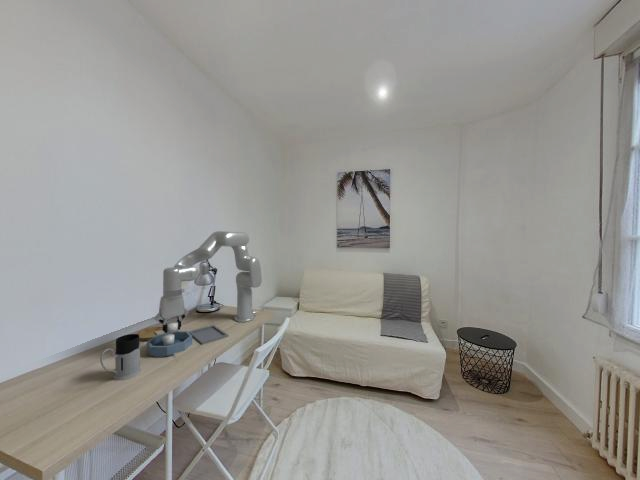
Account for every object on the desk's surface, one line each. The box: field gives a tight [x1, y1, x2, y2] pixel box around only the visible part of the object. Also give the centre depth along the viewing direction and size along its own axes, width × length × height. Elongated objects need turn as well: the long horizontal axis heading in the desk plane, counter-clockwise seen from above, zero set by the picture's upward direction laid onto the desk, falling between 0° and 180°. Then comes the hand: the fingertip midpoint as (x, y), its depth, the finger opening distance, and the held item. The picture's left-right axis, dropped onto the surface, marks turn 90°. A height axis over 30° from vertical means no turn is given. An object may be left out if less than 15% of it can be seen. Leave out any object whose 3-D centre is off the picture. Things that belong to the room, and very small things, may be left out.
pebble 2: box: [163, 334, 174, 346], centre depth 126 cm, size 5×5×4 cm
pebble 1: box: [166, 320, 179, 333], centre depth 120 cm, size 5×5×4 cm
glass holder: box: [99, 333, 142, 381], centre depth 98 cm, size 9×14×15 cm, turn 164°
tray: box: [188, 324, 229, 345], centre depth 137 cm, size 14×19×2 cm
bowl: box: [146, 330, 193, 358], centre depth 123 cm, size 18×18×5 cm
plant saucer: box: [135, 326, 164, 341], centre depth 136 cm, size 15×15×3 cm
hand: (172, 330), depth 120 cm, fingers closed on pebble 1, 4 cm apart
